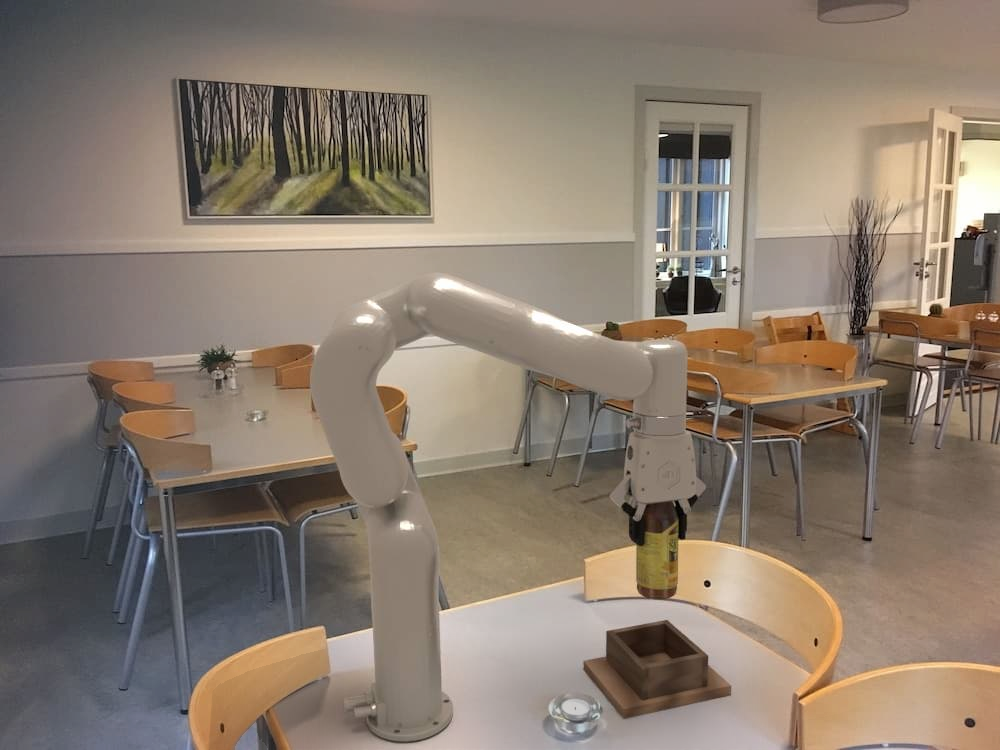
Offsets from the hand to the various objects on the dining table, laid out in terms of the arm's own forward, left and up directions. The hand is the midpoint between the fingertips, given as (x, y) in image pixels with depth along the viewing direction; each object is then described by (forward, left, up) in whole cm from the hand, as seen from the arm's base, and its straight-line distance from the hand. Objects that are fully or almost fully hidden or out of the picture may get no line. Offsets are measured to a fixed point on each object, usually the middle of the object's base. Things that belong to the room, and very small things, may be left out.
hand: (657, 538), depth 117 cm
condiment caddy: (0, 0, -23) cm, 23 cm away
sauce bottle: (0, 0, -9) cm, 9 cm away
